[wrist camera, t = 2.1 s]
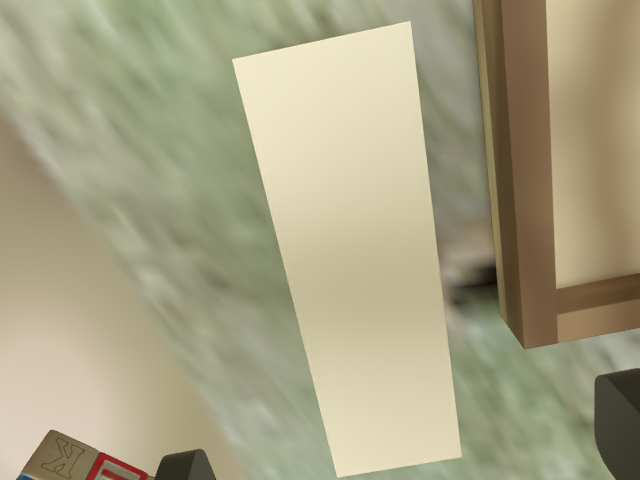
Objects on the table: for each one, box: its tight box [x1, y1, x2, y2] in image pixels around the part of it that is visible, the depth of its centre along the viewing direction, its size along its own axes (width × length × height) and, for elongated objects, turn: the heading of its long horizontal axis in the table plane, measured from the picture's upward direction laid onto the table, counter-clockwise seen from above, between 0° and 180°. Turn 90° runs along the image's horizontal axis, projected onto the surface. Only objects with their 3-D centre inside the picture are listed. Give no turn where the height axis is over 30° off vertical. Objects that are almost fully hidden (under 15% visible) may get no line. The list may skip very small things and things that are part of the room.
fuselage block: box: [232, 21, 462, 478], centre depth 19 cm, size 5×16×7 cm, turn 11°
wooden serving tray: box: [473, 0, 640, 349], centre depth 18 cm, size 11×23×3 cm, turn 12°
